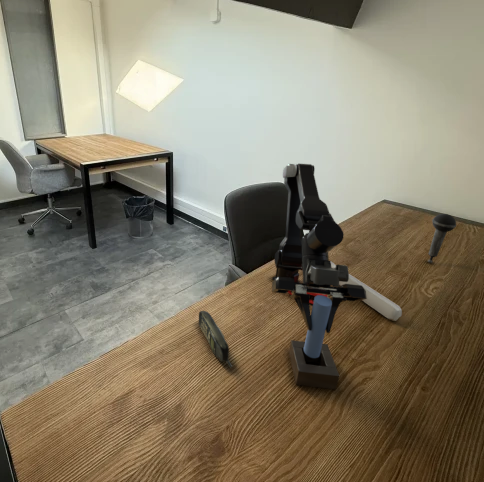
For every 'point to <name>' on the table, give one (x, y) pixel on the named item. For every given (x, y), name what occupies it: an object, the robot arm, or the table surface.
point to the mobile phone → (214, 336)
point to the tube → (376, 299)
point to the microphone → (440, 232)
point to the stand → (313, 367)
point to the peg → (317, 326)
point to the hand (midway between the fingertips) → (318, 331)
